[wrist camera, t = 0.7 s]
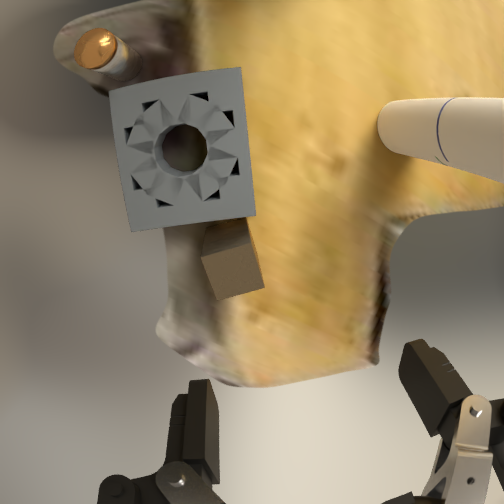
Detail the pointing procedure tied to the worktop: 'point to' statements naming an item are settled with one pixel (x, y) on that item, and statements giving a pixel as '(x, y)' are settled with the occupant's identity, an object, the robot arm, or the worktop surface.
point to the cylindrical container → (448, 132)
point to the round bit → (107, 55)
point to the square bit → (231, 259)
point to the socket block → (155, 166)
